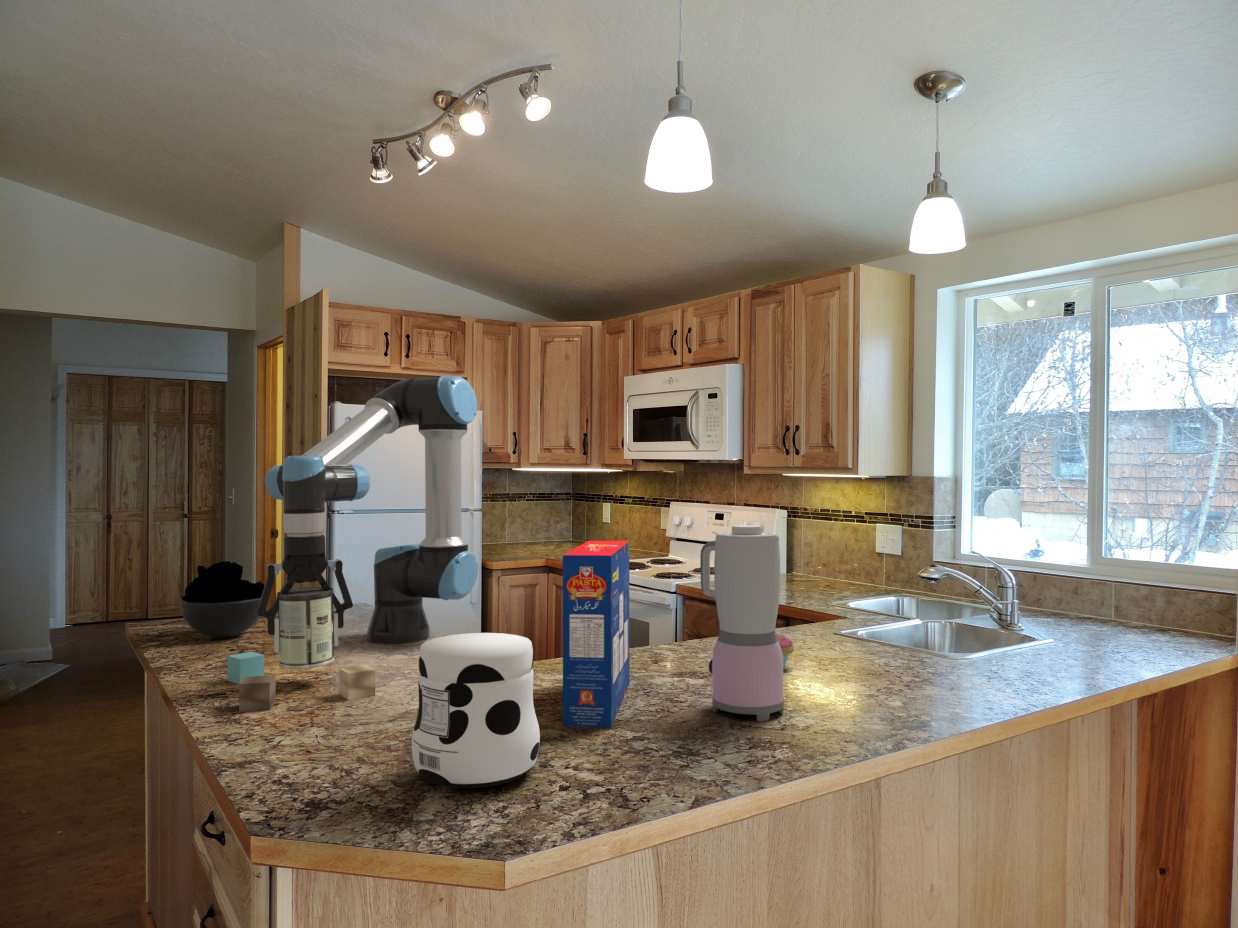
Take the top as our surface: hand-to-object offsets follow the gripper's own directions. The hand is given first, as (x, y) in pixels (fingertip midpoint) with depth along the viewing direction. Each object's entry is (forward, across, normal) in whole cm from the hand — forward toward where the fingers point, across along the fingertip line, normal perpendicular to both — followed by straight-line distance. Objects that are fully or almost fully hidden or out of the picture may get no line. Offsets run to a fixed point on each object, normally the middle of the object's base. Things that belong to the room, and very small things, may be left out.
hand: (306, 648), depth 161 cm
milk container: (+7, -16, +61) cm, 64 cm away
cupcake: (+9, -90, +30) cm, 95 cm away
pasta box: (+8, -46, +37) cm, 59 cm away
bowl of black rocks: (+8, +14, -59) cm, 61 cm away
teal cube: (+7, +10, -10) cm, 16 cm away
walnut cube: (+7, +10, +12) cm, 17 cm away
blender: (+8, -66, +52) cm, 84 cm away
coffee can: (+3, 0, 0) cm, 3 cm away
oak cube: (+7, -8, +12) cm, 16 cm away
